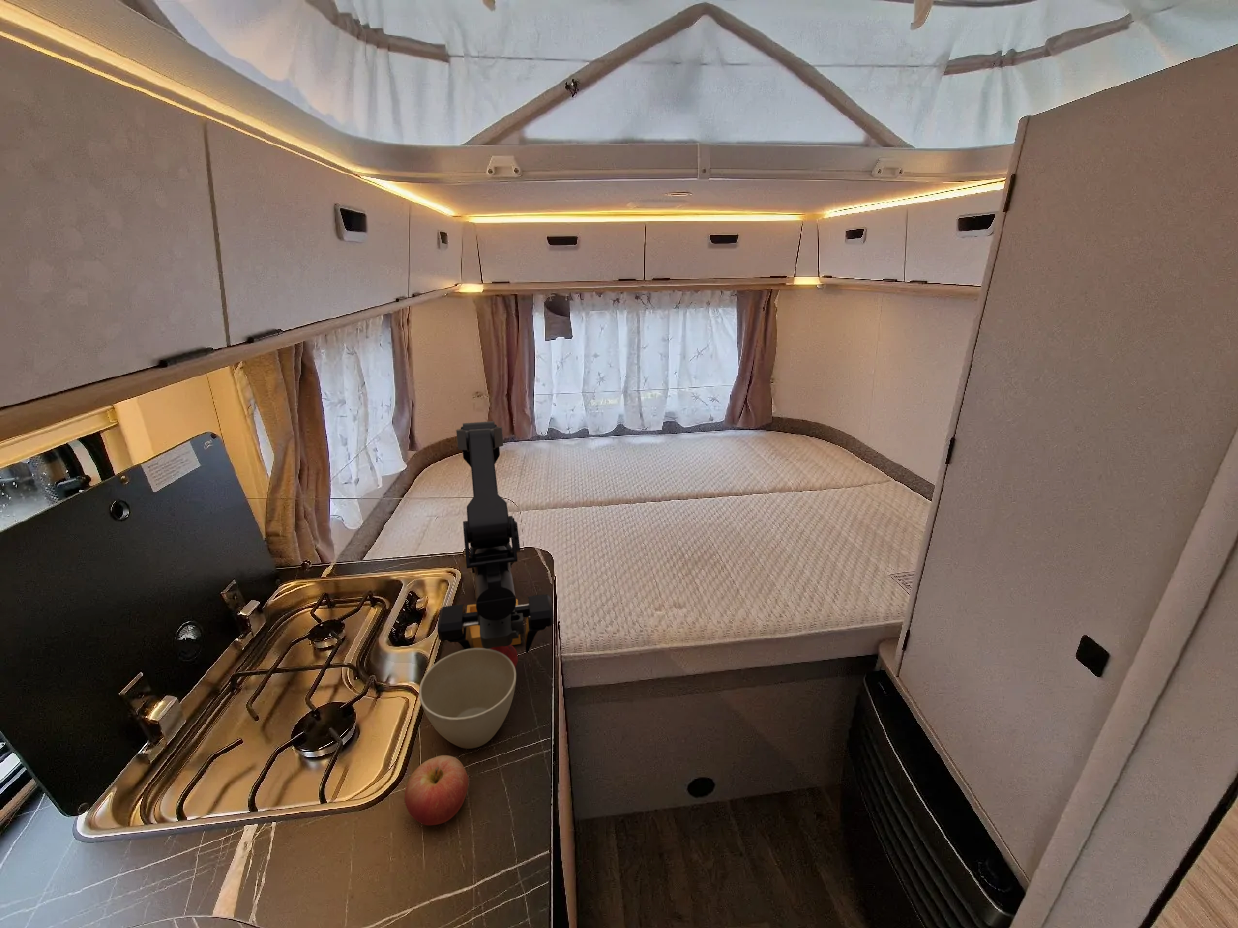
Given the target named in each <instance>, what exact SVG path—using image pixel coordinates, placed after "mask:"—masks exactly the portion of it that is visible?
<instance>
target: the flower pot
mask: <svg viewBox="0 0 1238 928" xmlns="http://www.w3.org/2000/svg"><path fill="white" fill-rule="evenodd" d="M516 683H517V670H516V668H515V667H514V664H513V663H512V661H511V660H510V659H509V658H508V657H507V656H506V655H504V654H503V653H501V652H498V651H496V650H492V649H485V648H471V649H461V650H458V651H455V652H452V653H450V654H448V655H446V656H445V657H443V658H441V659H439V660H437V662H435V663H434V664H432V666H430V668H429V669H428V670H427V671H426V673H425V674H424V676H423V677H422V679H421V681H420V685H419V687H418V698H419V702H420V704H421V706H422V709H423V712H424V714H425V716H426V718H427V719H428V721H429V722H430V724H431V725H432V726H433V728H434V730H435V731H436V732H437V733H438V734H439V735H440V736H442V738H444V739H445V740H447V741H448V742H449V743H450V744H452V745H454V746H456V747H459V748H460V749H468V750H469V749H476V748H479V747H482V746H484V745H485V744H487V743H488V742H489V741H491V740H492V739H493V737H495V736H496V734H497V732H498V731H499V730H500V728H501V727H502V726H503V724H504V723H505V722H504V721H505V720H506V717H507V716H508V715H509V711H510V708H511V706H512V702H513V699H514V695H515V691H516Z"/></svg>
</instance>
